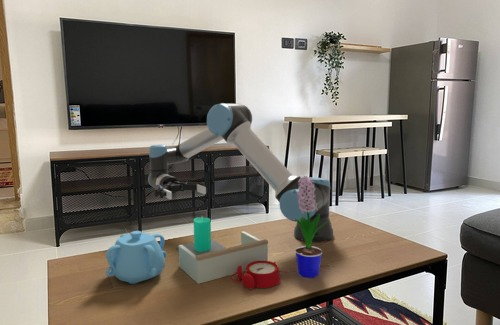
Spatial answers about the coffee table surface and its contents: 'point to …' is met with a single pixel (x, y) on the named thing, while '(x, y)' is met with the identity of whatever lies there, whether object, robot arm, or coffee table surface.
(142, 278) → the decorative pot
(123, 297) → the coffee table surface
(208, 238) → the candle
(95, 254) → the coffee table surface
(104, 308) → the coffee table surface
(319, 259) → the hyacinth
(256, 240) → the white u-shaped frame
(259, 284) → the alarm clock
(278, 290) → the coffee table surface
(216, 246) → the slate tile
